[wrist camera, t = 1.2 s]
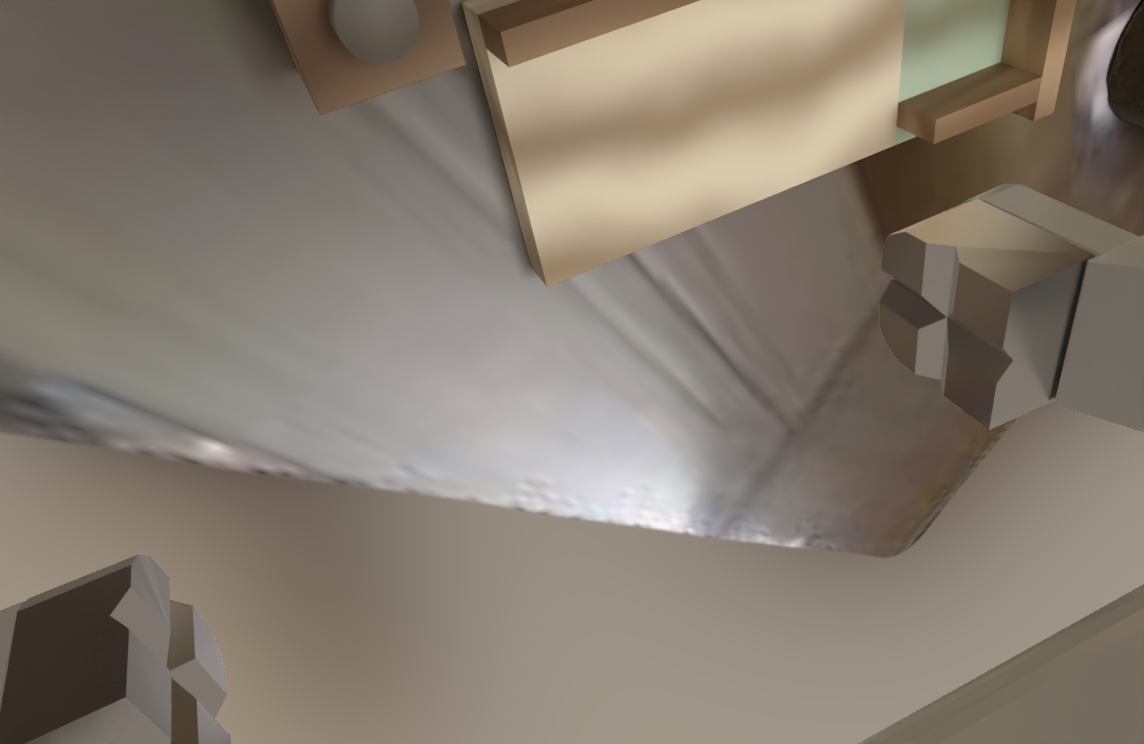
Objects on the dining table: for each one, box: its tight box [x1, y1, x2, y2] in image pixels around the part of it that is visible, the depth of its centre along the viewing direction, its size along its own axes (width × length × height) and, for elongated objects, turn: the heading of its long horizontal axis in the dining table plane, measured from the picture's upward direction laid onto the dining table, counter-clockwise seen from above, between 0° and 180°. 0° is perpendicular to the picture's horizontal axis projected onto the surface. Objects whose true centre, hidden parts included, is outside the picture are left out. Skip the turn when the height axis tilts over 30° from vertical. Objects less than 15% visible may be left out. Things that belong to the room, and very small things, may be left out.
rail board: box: [461, 0, 1077, 287], centre depth 35 cm, size 12×26×4 cm, turn 102°
